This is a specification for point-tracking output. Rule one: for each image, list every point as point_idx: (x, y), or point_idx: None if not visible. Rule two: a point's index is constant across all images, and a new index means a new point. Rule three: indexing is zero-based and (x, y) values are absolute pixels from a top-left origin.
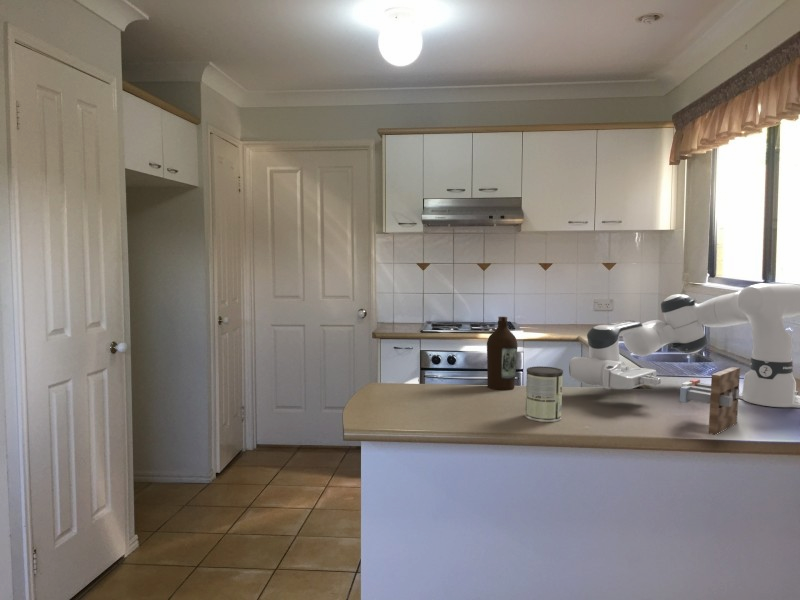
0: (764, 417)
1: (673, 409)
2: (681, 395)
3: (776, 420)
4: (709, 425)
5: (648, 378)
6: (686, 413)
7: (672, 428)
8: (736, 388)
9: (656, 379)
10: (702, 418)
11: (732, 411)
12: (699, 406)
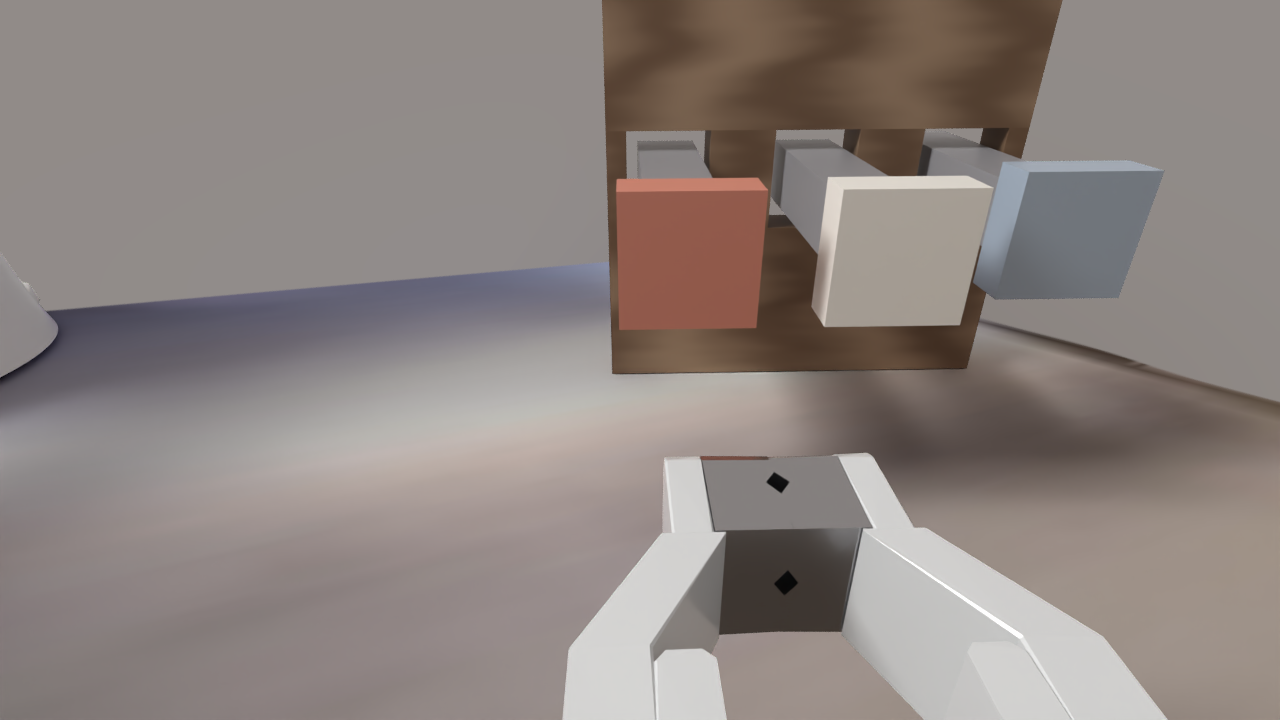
0: (369, 328)
1: (507, 705)
2: (1129, 238)
3: (408, 303)
4: (976, 325)
5: (988, 569)
6: (594, 564)
7: (1143, 480)
8: (639, 143)
9: (858, 456)
10: (662, 458)
11: None
12: (186, 585)
